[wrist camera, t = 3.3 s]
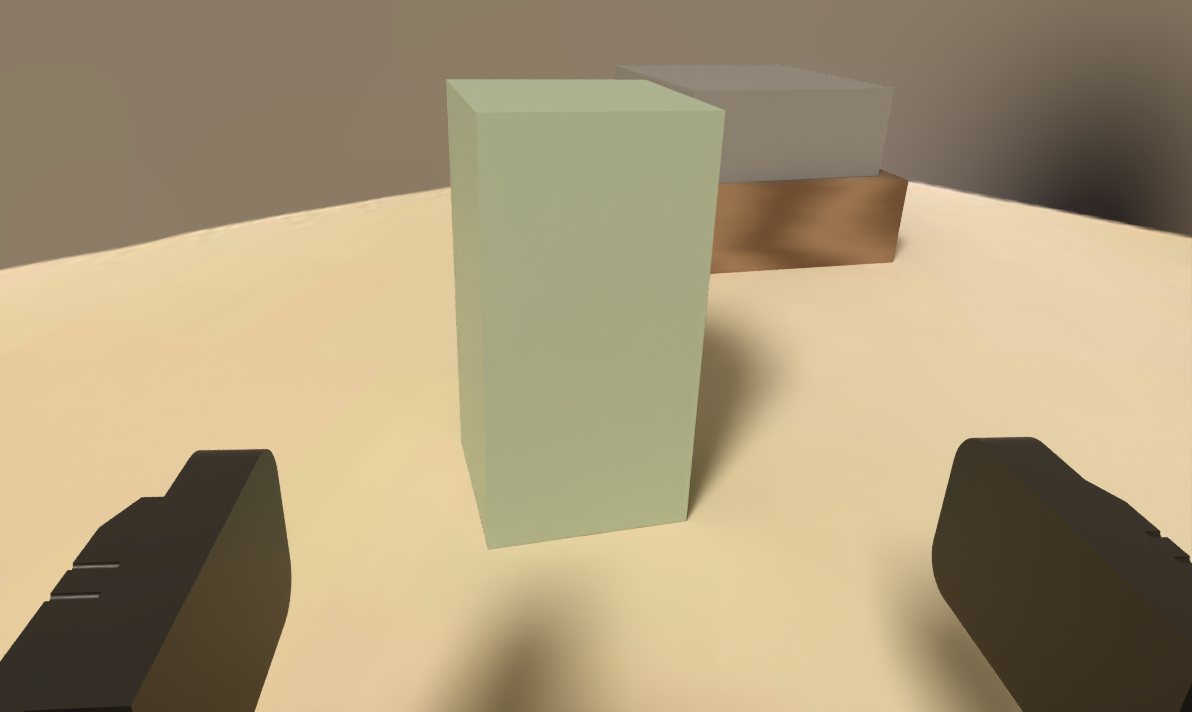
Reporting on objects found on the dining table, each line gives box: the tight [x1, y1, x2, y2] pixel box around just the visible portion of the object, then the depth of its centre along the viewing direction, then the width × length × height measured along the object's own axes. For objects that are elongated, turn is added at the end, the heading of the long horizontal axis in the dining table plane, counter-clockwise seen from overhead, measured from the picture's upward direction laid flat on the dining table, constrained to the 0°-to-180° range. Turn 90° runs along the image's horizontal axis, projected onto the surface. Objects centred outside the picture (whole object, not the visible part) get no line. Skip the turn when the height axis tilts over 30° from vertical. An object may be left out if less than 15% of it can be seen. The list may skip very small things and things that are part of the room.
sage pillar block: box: [446, 79, 726, 549], centre depth 20 cm, size 5×5×10 cm
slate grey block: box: [614, 65, 894, 183], centre depth 41 cm, size 10×10×4 cm
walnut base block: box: [710, 170, 908, 274], centre depth 43 cm, size 12×12×4 cm
